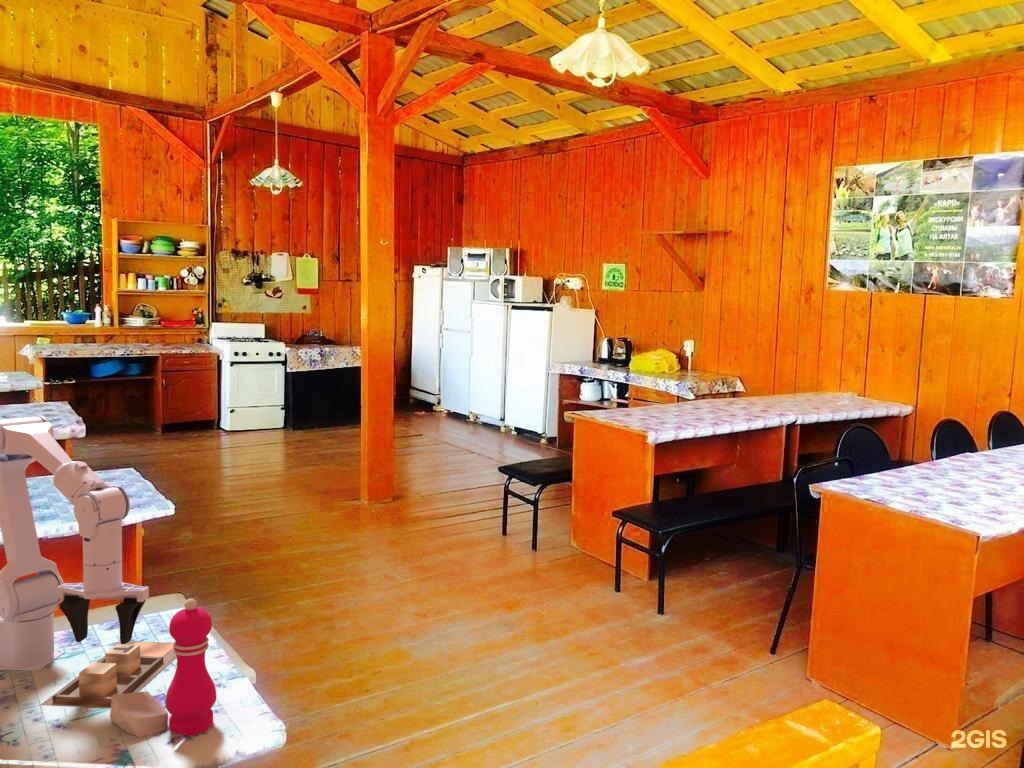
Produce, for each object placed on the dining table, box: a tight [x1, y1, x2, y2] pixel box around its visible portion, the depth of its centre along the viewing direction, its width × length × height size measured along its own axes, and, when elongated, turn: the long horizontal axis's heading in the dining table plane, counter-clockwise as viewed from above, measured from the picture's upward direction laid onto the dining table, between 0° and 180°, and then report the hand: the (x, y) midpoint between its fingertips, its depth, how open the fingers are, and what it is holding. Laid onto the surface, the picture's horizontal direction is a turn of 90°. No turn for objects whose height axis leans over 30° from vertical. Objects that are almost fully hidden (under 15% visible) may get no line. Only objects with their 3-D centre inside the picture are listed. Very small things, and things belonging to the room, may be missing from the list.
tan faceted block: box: [109, 690, 169, 738], centre depth 118 cm, size 10×6×6 cm, turn 40°
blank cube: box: [78, 661, 117, 697], centre depth 127 cm, size 4×4×4 cm
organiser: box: [40, 640, 177, 709], centre depth 135 cm, size 13×25×2 cm, turn 178°
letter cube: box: [104, 643, 140, 675], centre depth 135 cm, size 4×4×4 cm
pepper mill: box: [164, 598, 217, 737], centre depth 118 cm, size 7×7×20 cm
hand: (103, 640), depth 129 cm, fingers open, 7 cm apart
